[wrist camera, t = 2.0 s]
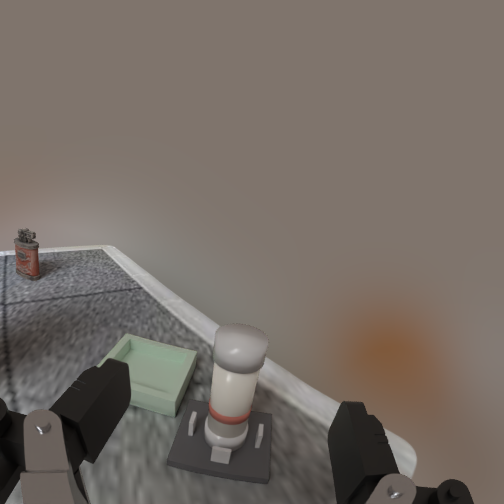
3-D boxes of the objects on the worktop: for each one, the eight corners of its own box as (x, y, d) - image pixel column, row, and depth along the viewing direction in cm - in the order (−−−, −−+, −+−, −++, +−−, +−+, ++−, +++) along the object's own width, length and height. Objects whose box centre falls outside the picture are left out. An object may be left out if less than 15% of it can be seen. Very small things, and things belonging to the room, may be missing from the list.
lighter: (13, 272, 48) (10, 227, 46) (23, 268, 52) (21, 225, 49) (32, 282, 47) (30, 233, 45) (43, 277, 50) (41, 231, 48)
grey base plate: (167, 465, 20) (166, 447, 20) (189, 405, 29) (190, 386, 28) (266, 483, 20) (273, 467, 19) (269, 419, 29) (275, 401, 28)
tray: (92, 390, 27) (89, 374, 26) (127, 348, 37) (126, 333, 36) (174, 417, 27) (175, 401, 26) (195, 366, 36) (197, 351, 36)
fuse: (200, 447, 22) (210, 345, 20) (207, 419, 26) (220, 319, 24) (243, 455, 22) (268, 355, 19) (246, 426, 26) (269, 328, 23)
